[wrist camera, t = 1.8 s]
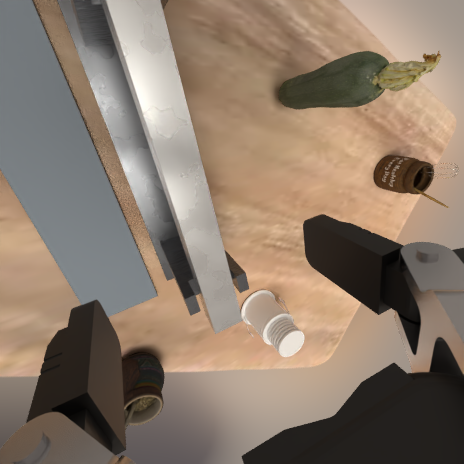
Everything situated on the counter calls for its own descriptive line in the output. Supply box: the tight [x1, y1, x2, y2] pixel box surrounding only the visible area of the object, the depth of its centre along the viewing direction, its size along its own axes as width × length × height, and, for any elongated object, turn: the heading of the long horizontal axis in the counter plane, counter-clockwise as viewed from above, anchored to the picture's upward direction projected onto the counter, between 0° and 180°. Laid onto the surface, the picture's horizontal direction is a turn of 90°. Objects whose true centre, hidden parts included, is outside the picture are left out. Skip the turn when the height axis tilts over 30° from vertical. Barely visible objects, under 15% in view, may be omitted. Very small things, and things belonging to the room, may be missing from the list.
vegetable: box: [279, 51, 441, 109], centre depth 28 cm, size 4×4×20 cm
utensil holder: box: [374, 156, 459, 208], centre depth 44 cm, size 6×6×12 cm
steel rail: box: [100, 0, 243, 334], centre depth 21 cm, size 32×3×3 cm, turn 13°
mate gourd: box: [122, 353, 164, 430], centre depth 39 cm, size 7×8×10 cm
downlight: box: [241, 290, 304, 357], centre depth 45 cm, size 8×7×10 cm
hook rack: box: [57, 0, 249, 315], centre depth 27 cm, size 34×8×14 cm, turn 13°
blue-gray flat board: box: [0, 0, 158, 317], centre depth 30 cm, size 38×9×1 cm, turn 13°
